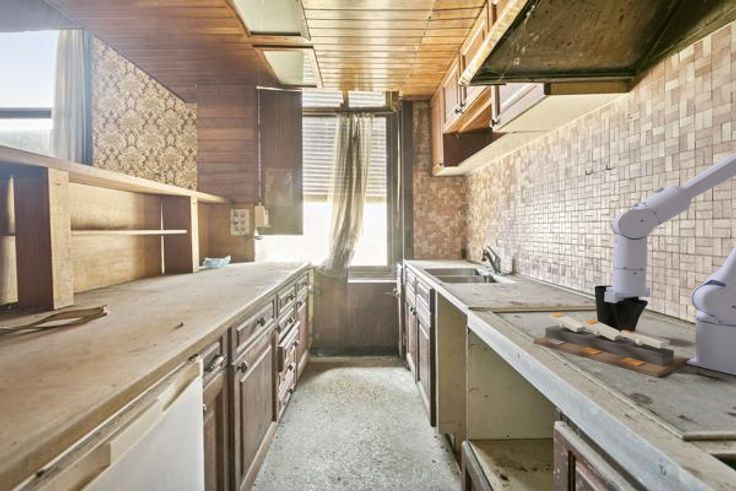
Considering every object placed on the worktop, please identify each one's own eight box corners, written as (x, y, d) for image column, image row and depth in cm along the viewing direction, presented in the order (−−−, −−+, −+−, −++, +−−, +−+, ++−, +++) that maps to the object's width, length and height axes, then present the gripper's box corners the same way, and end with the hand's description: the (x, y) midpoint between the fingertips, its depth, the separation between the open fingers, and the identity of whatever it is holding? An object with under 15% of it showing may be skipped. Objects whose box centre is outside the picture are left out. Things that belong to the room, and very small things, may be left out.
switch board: (689, 362, 75) (689, 347, 75) (657, 377, 68) (657, 360, 68) (568, 334, 97) (568, 322, 97) (533, 343, 89) (533, 330, 89)
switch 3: (668, 348, 74) (670, 339, 74) (659, 352, 72) (660, 342, 72) (629, 335, 80) (630, 327, 80) (619, 338, 78) (621, 330, 78)
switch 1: (585, 332, 88) (587, 325, 87) (575, 334, 86) (577, 327, 85) (557, 319, 94) (559, 312, 93) (547, 321, 92) (549, 314, 91)
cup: (594, 336, 95) (595, 288, 94) (592, 329, 101) (593, 284, 101) (631, 340, 91) (632, 290, 91) (627, 332, 98) (627, 286, 97)
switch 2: (622, 340, 81) (625, 332, 81) (612, 343, 79) (615, 335, 79) (590, 325, 87) (592, 318, 86) (580, 328, 85) (582, 320, 84)
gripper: (625, 265, 85) (623, 324, 86) (590, 268, 77) (587, 333, 78) (662, 268, 79) (659, 332, 79) (628, 272, 71) (624, 342, 72)
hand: (626, 333), depth 78 cm, fingers closed, pressing on switch 3
